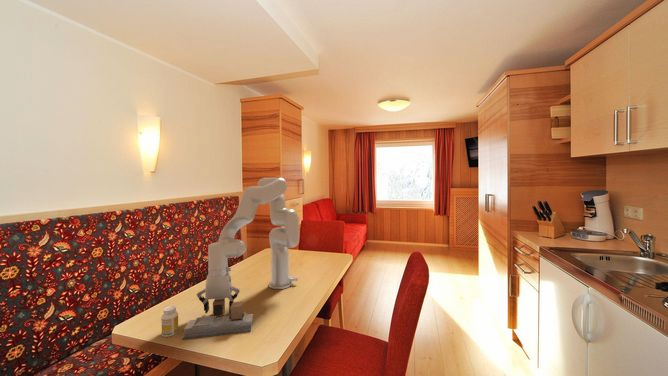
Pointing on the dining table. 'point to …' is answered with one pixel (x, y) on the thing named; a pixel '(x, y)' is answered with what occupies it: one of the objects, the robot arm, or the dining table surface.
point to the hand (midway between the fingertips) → (219, 310)
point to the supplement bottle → (169, 321)
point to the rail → (220, 324)
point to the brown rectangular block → (219, 307)
